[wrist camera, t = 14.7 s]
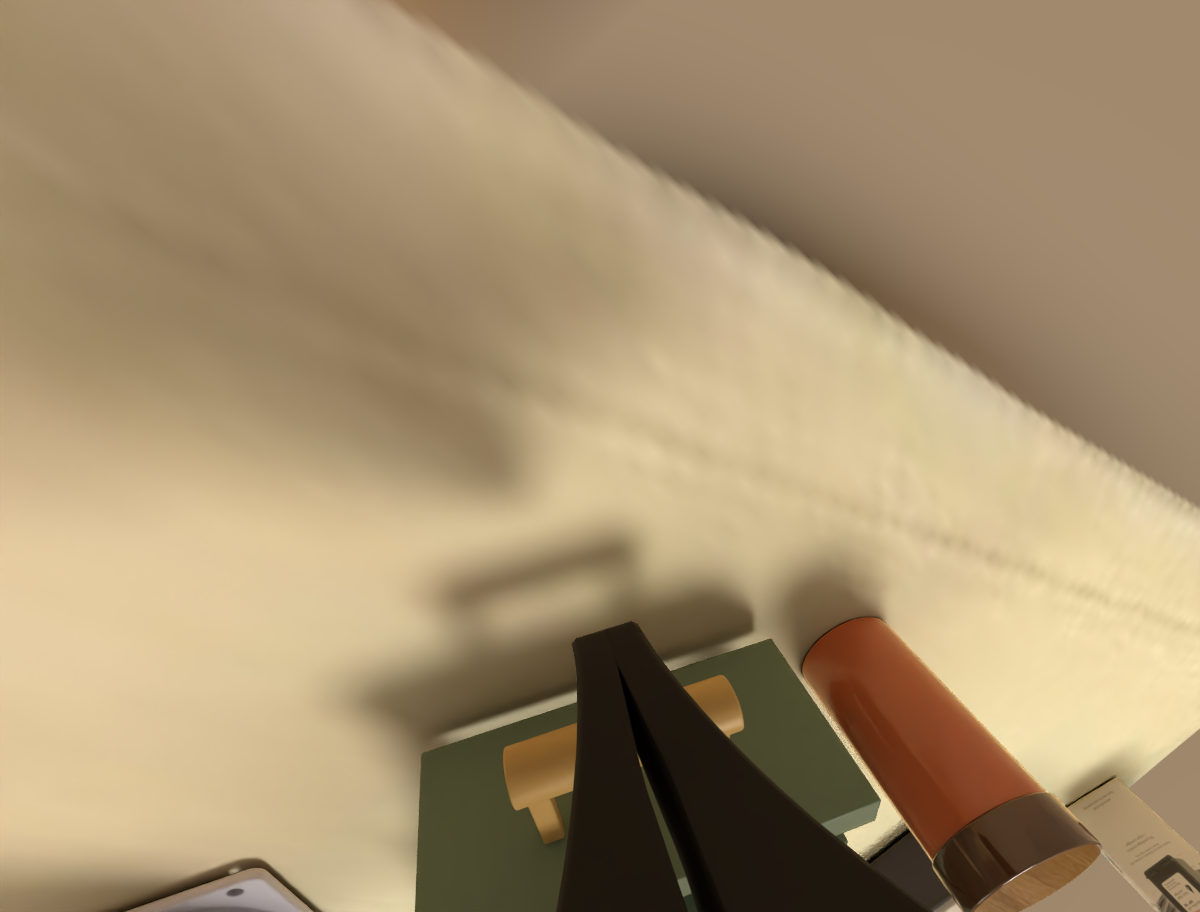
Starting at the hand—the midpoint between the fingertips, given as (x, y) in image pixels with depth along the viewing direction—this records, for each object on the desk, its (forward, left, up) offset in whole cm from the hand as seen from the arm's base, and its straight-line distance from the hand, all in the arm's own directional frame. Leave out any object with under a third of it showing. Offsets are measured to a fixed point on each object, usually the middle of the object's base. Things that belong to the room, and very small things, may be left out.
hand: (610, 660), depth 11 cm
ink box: (+38, -44, -5) cm, 59 cm away
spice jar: (+10, -11, -5) cm, 16 cm away
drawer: (0, -11, -4) cm, 11 cm away
